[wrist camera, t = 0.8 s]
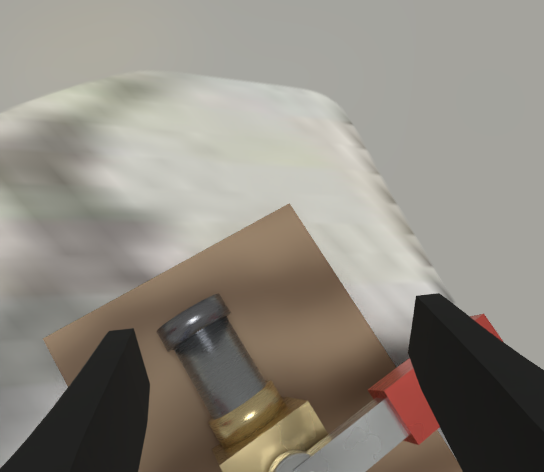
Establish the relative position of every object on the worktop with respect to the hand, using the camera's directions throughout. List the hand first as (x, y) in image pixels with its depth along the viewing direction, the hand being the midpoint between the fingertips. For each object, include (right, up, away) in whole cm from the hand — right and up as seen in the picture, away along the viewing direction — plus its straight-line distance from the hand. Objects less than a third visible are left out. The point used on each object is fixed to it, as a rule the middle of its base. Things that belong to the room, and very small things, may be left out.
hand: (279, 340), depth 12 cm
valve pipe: (0, -10, +14) cm, 17 cm away
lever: (+5, -6, +10) cm, 12 cm away
